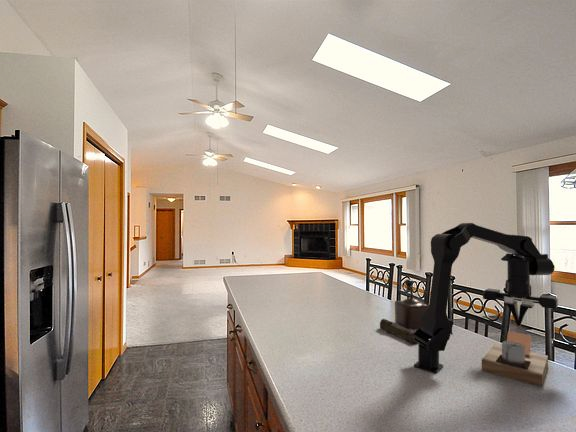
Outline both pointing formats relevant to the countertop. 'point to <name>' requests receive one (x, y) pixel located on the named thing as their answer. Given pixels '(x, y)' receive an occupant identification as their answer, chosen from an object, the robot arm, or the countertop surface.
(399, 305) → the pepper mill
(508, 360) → the peg
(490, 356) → the hole plate
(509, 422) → the countertop surface
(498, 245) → the robot arm
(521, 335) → the pink flat plate
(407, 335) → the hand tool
